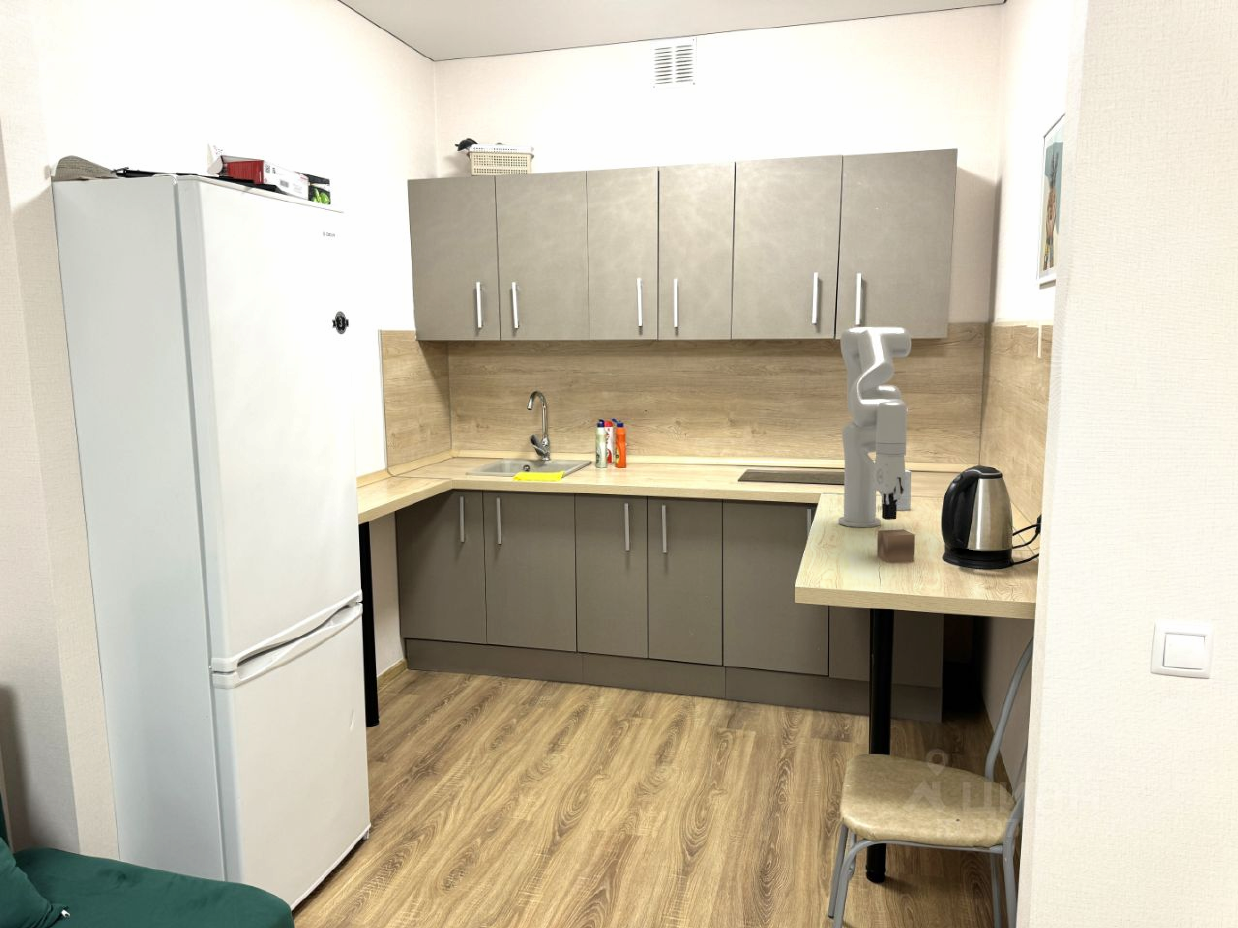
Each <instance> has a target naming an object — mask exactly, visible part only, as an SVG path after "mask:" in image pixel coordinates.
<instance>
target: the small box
mask: <svg viewBox="0 0 1238 928" xmlns="http://www.w3.org/2000/svg"><path fill="white" fill-rule="evenodd" d="M893 492H894V491H893ZM911 500H912V471H911V470H909V469H906V468H905V491H904V493H903V494H901V499H900V500H898V503H897V511H911V502H912V501H911ZM882 504H884V503H882V502H881V505H882Z"/></svg>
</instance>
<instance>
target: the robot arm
mask: <svg viewBox="0 0 1238 928" xmlns="http://www.w3.org/2000/svg"><path fill="white" fill-rule="evenodd" d="M839 343H840V351H841V355H842V359H843V362H844V364H845V367H846V373H847V375H846V377H847V378H846V379H847V381H846V383H847V387H846V388H847V389H846V391H847V393H846V395H847V398H846V400H847V402H846V404H847V410H848V413H849V414H850V415H851V417H852V420H853V421H852V422H851V421H850V422H849V423H846V424H845V426H844V427H843V428H842V432H841V433H842V434H841V437H842V444H843V454H844V482H843V483H844V487H843V489H844V490H843V492H844V493H843V501H844V502H843V516H841V517H840V518H838V524H839V525H843V526H846V527H851V528H852V527H853V528H872V527H878V526H881V524H882V521H881V520H882V519H883V520H886V521H887V520H890V521H891V520H897V513H898V510H897V503H898V500H900V499H901V494H903V493H904V491H905V469H906V462H905V456H907V437H908V436H907V434H908V433H907V432H908V430H907V429H908V414H909V410H908V406H907V404H906V403H905V402H904V401H903V397H902V393H901V390H900V389H899V387H897V386H896V385H892V384H886V383H887V382H888V381H890V380H891V379H892V378H893V376H894V375H895V366H894V362H893V358H906V357H908V356H909V355H910V353H911V350H912V337H911V335H910V332H909V330H907V328H905V327H901V326H856V327H850V328H847V329H845V330H844V331H842V333H841V336H840V342H839ZM870 453H871V454H873V453H875V459H874V460H873V459H872V457H870V455H869V454H870ZM893 491H894V492H893ZM877 492H878V493H879V494H880V495H881V508H882V509H881V510H882V512H881V518H882V519H880V518H877V517H876V516H877ZM882 503H884V504H882Z"/></svg>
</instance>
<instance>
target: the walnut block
mask: <svg viewBox="0 0 1238 928" xmlns="http://www.w3.org/2000/svg"><path fill="white" fill-rule="evenodd" d="M915 538H916V534H914V533H912V532H911V531H909V530H906V529H904V528H899V529H898V528H896V529H877V539H876V542H877V544H876V557H877V558H879V559H881V560H883V561H884V562H886V563H888V562H889V563H907V562H915V541H916V539H915Z"/></svg>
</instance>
